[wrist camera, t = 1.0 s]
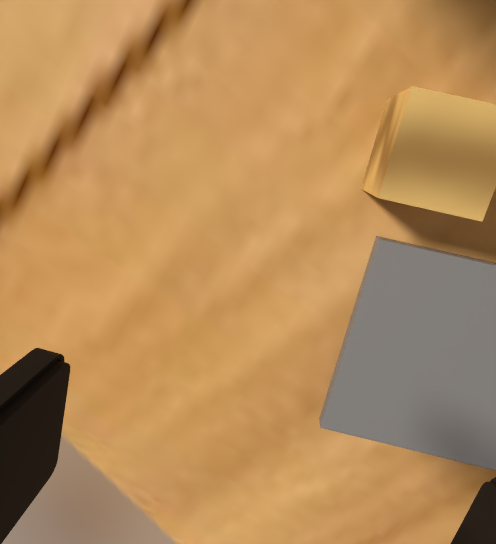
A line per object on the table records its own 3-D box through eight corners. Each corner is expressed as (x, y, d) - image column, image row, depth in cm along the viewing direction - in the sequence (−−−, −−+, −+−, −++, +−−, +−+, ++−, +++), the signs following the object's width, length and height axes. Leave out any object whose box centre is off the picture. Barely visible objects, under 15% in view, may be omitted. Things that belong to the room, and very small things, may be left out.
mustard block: (386, 99, 28) (412, 86, 22) (476, 118, 27) (525, 110, 22) (360, 188, 29) (378, 198, 24) (444, 207, 29) (482, 221, 23)
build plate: (376, 236, 30) (379, 239, 29) (597, 286, 30) (609, 291, 28) (319, 418, 35) (320, 427, 34) (508, 464, 34) (516, 475, 33)
